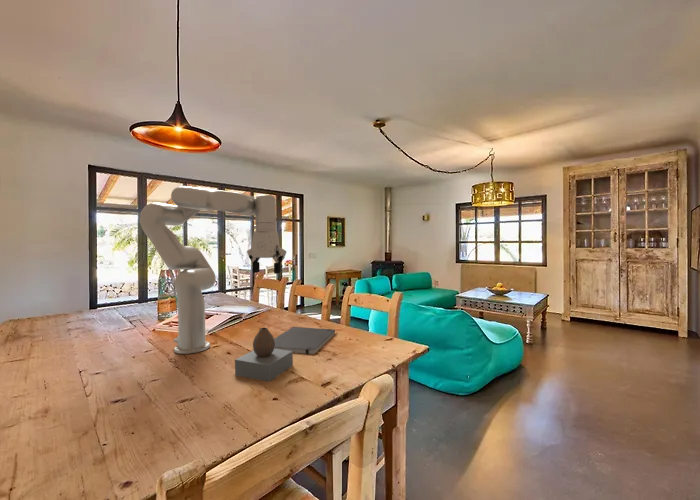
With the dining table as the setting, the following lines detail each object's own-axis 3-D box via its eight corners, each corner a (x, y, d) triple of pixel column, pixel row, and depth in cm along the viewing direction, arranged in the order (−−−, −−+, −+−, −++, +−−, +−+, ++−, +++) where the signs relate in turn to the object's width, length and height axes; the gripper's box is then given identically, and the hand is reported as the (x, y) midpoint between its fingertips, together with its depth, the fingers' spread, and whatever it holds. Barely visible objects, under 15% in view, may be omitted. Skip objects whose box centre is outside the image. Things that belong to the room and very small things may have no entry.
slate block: (235, 375, 99) (234, 359, 99) (261, 360, 112) (261, 346, 111) (269, 381, 95) (269, 365, 94) (292, 365, 107) (292, 351, 107)
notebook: (292, 331, 150) (262, 351, 123) (292, 326, 150) (262, 345, 123) (336, 334, 144) (314, 355, 117) (336, 329, 144) (314, 349, 117)
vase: (269, 359, 99) (268, 332, 99) (249, 358, 100) (248, 331, 100) (278, 352, 106) (277, 326, 106) (259, 350, 107) (258, 325, 107)
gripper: (240, 228, 119) (241, 273, 120) (279, 227, 113) (280, 274, 113) (253, 228, 126) (254, 271, 127) (290, 227, 120) (291, 272, 120)
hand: (266, 272), depth 120 cm, fingers open, 9 cm apart
